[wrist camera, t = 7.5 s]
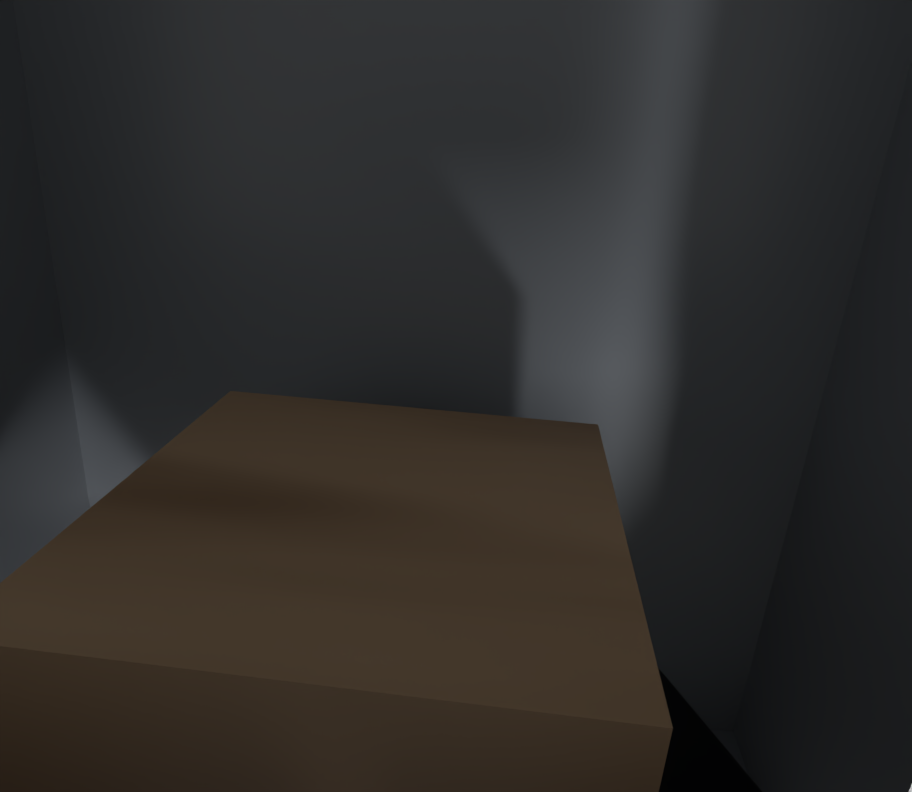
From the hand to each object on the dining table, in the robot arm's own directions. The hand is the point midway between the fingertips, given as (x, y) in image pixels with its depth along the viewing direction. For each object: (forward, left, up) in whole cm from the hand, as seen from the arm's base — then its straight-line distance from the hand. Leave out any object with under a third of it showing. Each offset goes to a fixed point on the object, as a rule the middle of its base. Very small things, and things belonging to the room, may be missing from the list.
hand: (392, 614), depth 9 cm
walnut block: (0, 0, -1) cm, 1 cm away
